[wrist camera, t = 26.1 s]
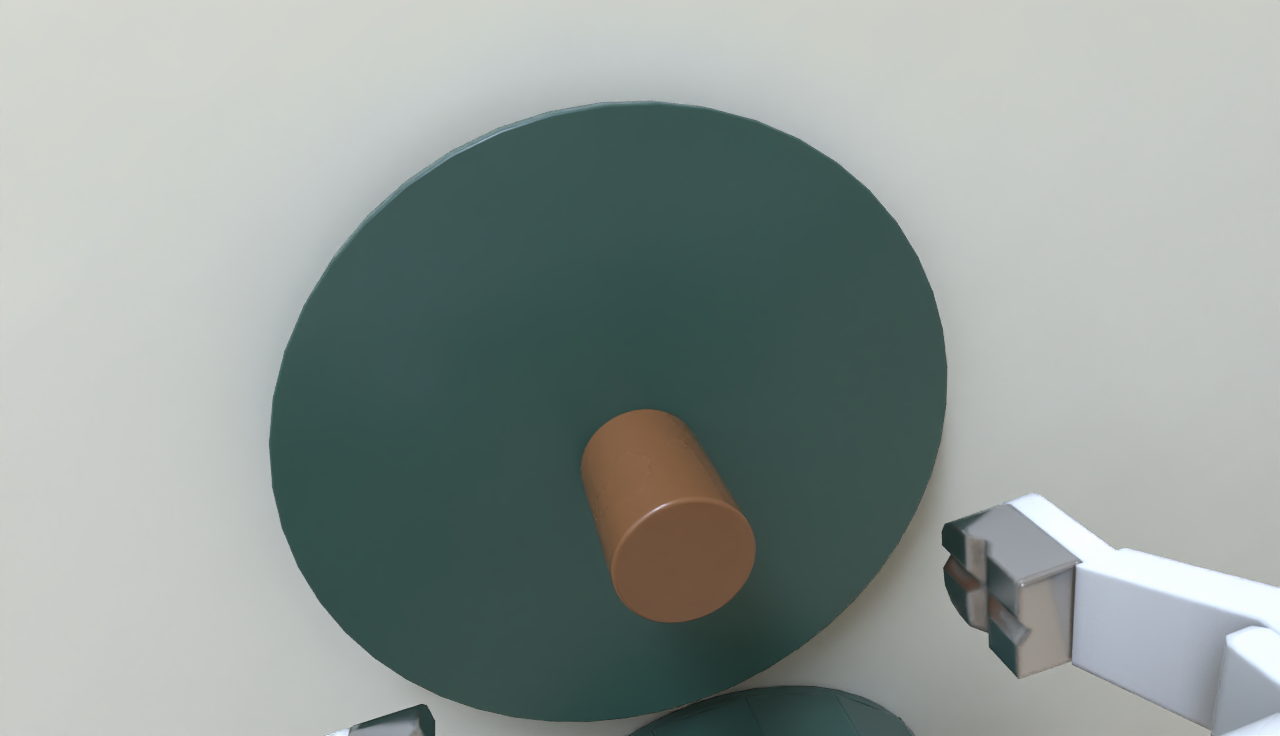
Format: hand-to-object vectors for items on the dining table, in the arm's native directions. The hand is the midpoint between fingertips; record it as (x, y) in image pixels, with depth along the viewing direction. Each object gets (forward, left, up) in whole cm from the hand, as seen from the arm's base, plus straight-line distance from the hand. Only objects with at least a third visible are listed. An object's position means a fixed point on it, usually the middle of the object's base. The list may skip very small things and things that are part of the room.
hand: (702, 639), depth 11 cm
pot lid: (0, 0, -6) cm, 6 cm away
